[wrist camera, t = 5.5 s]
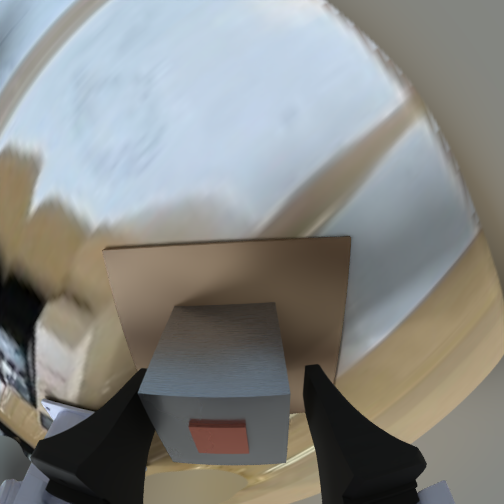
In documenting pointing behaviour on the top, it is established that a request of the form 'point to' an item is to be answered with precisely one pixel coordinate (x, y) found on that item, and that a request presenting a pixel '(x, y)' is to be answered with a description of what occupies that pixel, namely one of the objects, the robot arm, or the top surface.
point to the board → (238, 293)
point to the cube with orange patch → (220, 386)
